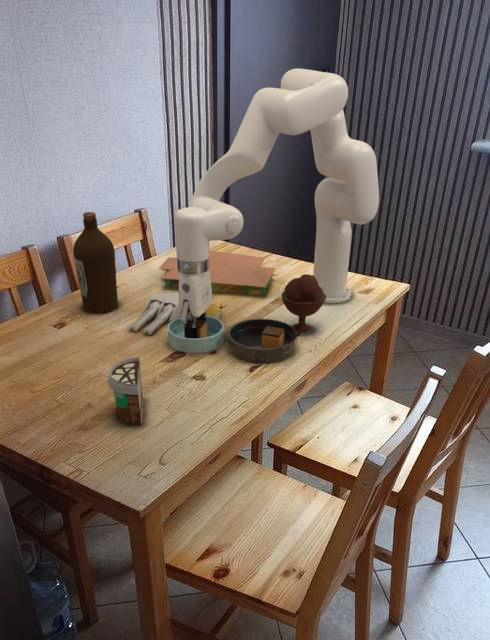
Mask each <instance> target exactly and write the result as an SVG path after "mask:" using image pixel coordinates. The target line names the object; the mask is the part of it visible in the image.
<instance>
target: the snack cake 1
mask: <svg viewBox="0 0 490 640" xmlns="http://www.w3.org/2000/svg"><path fill="white" fill-rule="evenodd" d="M192 319H193V318H190V320H191V321H192ZM196 327H197V329H198V338H205V337H207V321H205V320H199V319H196ZM184 338H185V329H184Z"/></svg>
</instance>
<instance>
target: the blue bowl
mask: <svg viewBox="0 0 490 640" xmlns="http://www.w3.org/2000/svg"><path fill="white" fill-rule="evenodd" d="M190 318H193V317H188V319H190ZM206 321H207V337H205V338H197V339H194V338H184V324H183V323H182V322H181V316H180V317H178V318H175V319H173V320H171V321H169V323H168V324H167V326H166V327H167V328H166V329H167V342H168V345H169V347H171V348H172V349H174V350H175V351H179V352H181V353H186V354H205V353H209V352H212V351H216V350H217V349H219V348H220V347H222V345H224V343H225V325H224V322H222V321H221V319H219V318H218V319H217V318H214V317H211V316H206Z"/></svg>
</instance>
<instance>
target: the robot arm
mask: <svg viewBox="0 0 490 640" xmlns="http://www.w3.org/2000/svg"><path fill="white" fill-rule="evenodd" d="M348 99H349V87H348V84H347V82H346V80H345V79H344V78H343V77H342V76H341V75H339V74H336V73H332V72H326V71H325V72H324V71H319V70H313V69H308V68H307V69H306V68H298V67H297V68H292V69H289V70H288V71H286V72H285V73H284V74H283V76H282V78H281V81H280V88H277V87H263V88H261V89H259V90H257V92H256V93H255V94H254V96H253V97H252V99H251V101H250V104H249V105H248V108H247V110H246V112H245V115H244V117H243V119H242V121H241V123H240V126H239V128H238V130H237V133H236V134H235V136H234V139H233V140H232V143H231V145H230V147H229V149H228V151H227V152H226V153H225V154H224V155H222V156H221V157H220V158H219V159H217V160H216V162H214V163H213V165H212V166H211V167H209V169H208V170H206V171H205V172H204V174H203V175H202V177H201V179H200V180H199V182H198V184H197V186H196V187H195V191H194V192H193V195H192V197H191V200H190V203H189V207H183V208H180V209H178V210H176V212H175V215H174V227H175V228H174V230H175V231H174V232H175V250H176V251H175V252H176V257H177V271H178V273H179V280H178V281H179V282H178V283H179V284H178V293H179V310H180V314H181V316H180V317H181V322H182V323H183V324H184V329H185V338H194V339H197V338H198V329H197V327H196V319H199V320H205V321H206V315H207V311H206V310H207V309H208V307H209V306H210V305H211V304H213V287H211V286H212V283H211V277H210V260H209V251H210V242H213V241H227V240H231V239H234V238H236V237H237V236H238V235H239V234H240V233H241V232H242V231H243V228H244V224H245V223H244V216H243V214H242V212H241V211H240V210H239V209H238V208H236V206H235V207H234V206H233V205H230V204H227V203H226V202H223V201H220V200H221V198H222V196H223V194H224V193H225V192H226V191H227V189H228V188H229V187H230V186H231V185H232V184H233V183H235V182H237V181H238V180H240V179H242V178H243V179H244V178H246V177H248V176H252V175H254V174H256V173H259V172H261V171H262V170H263V169H264V167H265V165H266V164H267V161H268V158H269V156H270V154H271V153H272V149H273V147H274V145H275V143H276V141H277V139H278V137H279V135H280V134H283V135H288V136H298V135H301V134H304V133H306V132H308V131H310V136H311V143H312V151H313V157H314V163H315V167H316V169H317V171H318V173H319V174H320V175H322V176H325V177H326V178H324V179H322V180H321V181H320V182H319V183H318V184H317V186H316V189H315V192H314V208H315V216H316V231H315V243H314V256H313V257H314V259H313V273H312V276H314V277H315V278H316V279H317V281H318V284H319V286H320V287H321V288H322V290H323V292H324V294H325V295H326V299H325V302H324V304H341V303H344V302H347V301H349V300H350V299H351V297H352V290H351V289H350V288H349V287H347V285H348V275H349V266H350V265H349V264H350V255H351V246H352V236H353V233H352V232H353V230H352V225H351V223H352V224H355V225H366V224H369V223H371V222H372V221H373V219H375V217H376V216H377V213H378V209H379V205H380V189H379V175H378V164H377V156H376V153H375V151H374V149H373V148H372V147H371V145H370V144H368V143H367V142H365V141H362V140H357V139H353V138H351V137H350V136H349V134H348V129H347V124H346V115H345V112H344V108H345V106H346V104H347V101H348ZM189 312H191V313H192V314H189ZM188 317H193V319H192V321H191V320H190V319H188Z"/></svg>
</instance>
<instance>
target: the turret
mask: <svg viewBox="0 0 490 640" xmlns="http://www.w3.org/2000/svg"><path fill="white" fill-rule="evenodd" d="M146 304H147V305H145V308H144V310H143V312H142V315H141V316H140V317H139V318H137V320H136V321H134V322H133V324H131V325H130V327H129V328H128V329H129V331H134V332H137V331H139V330H140V329H141V328H142V327H144V325H145V324H146V323H147V322H149V321H151V320H153V321H152V322H151V323H150V324H149V325H148V326H147V327H146V328H145V329H144V331H143V335H144V334H146V335H148V336H151V335H153V334H154V332H155V331H156V330H157V329H158V328H160V327H161V325H163V324H166V323H167V322H171V321H173V320H175V319H176V318H179V317H181V314H180V310H179V292H165V293H152V294H151V295H150V298H149V300H148V302H147V303H146Z"/></svg>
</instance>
